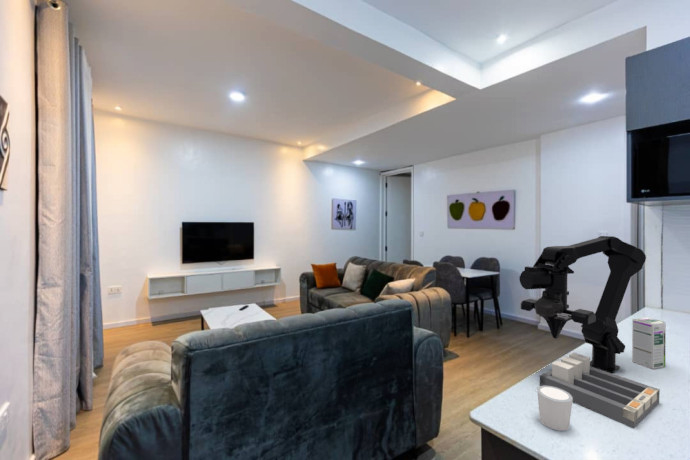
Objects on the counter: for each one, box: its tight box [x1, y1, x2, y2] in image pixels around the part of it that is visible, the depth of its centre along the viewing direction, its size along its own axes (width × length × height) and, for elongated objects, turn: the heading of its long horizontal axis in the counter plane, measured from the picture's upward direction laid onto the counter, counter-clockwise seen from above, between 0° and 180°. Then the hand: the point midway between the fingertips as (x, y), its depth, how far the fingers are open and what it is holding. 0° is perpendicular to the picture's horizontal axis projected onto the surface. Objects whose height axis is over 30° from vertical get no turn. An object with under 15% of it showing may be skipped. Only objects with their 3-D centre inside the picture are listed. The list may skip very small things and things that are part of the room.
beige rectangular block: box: [560, 356, 582, 379], centre depth 88 cm, size 3×4×5 cm
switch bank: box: [539, 366, 661, 429], centre depth 83 cm, size 18×20×4 cm
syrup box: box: [631, 316, 666, 370], centre depth 100 cm, size 6×6×14 cm
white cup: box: [536, 385, 573, 432], centre depth 71 cm, size 7×7×7 cm
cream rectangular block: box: [551, 360, 574, 385], centre depth 85 cm, size 3×4×5 cm
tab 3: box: [568, 352, 591, 374], centre depth 90 cm, size 3×4×5 cm
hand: (555, 338), depth 96 cm, fingers closed
